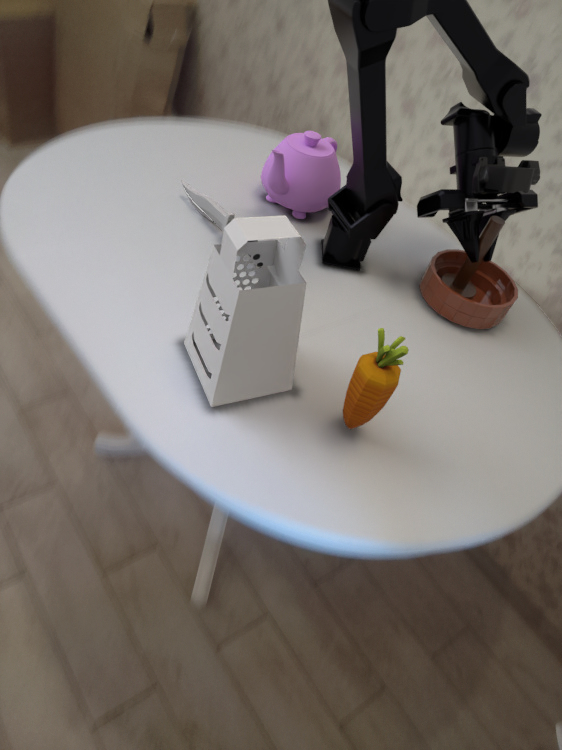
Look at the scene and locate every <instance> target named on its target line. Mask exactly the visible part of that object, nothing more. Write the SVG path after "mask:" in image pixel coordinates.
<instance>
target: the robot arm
mask: <svg viewBox="0 0 562 750" xmlns="http://www.w3.org/2000/svg"><path fill="white" fill-rule="evenodd" d="M327 4H328V9H329V13H330V16H331V20H332V25H333V29H334V32H335V34H336V37H337V40H338V42H339V45H340V47H341V50H342V52H343V55H344V57H345V62H346V75H347V89H348V103H349V117H350V132H351V133H350V134H351V145H352V159H353V160H352V161H353V162H352V164H351V167H350V169H349V170H348V172H347V174H346V182H345V184H344V185H343V186H341V187H340V189H339V190H338V191H337V192H336V193H334V194H333V195H332V196H330V197H329V198H328V207H327V210H328V211H329V212H330V213H331V214H332V215H331V216H330V219H329V223H328V226H327V229H326V232H325V236H324V238H323V239H321V240H320V256H321V258H320V259H321V264H323V265H326V266H330V267H337V268H341V269H345V270H346V269H347V270H352V271H357V272H358V271H359V272H360V271H361V269H362V264H361V263H363V262H364V261H365V258H366V256H367V253H368V251H369V249H370V246H371V244H372V241H373V240H377V238H378V237H379V236H380V234H381V233H382V231H384V229H385V228H386V227H387V225H388V224H389V222H390V221H391V220H392V218H393V217H394V215H396V214H397V212H398V210H399V204H400V203H399V202H403V201H404V200H403V198H402V185H403V177H402V175H401V174H400V173H399V172H398V171H397V170H396V169H395V167H393V166H392V164H391V163H390V162H389V161H388V154H387V152H388V149H387V148H388V144H387V66H386V63H387V57H388V55H389V53H390V51H391V49H392V46H393V44H394V42H395V40H396V38H397V34H398V29H402V28H407V27H410V26H413V25H414V24H416V23H417V22H419V21H421V20H422V19H423V18H425V17H426V18H427V20H428V21H429V23H430V24H431V25H432V27H433V28H434V29H435V31H436V32H437V33H438V35H439V36H440V37H441V39H442V40H443V42H444V43H445V45H446V46H447V47H448V49H449V50H450V52H451V53H452V54H453V56H454V57H455V59H456V60H457V61H458V63H459V65H460V68H461V72H462V74H461V78H462V80H463V83H464V86H465V88H466V90H467V93H468V94H469V96H470V97H472V98H473V99H474V100H475V101H477V102H478V103H479V104H480V105H482V106H483V107H485V108H486V109H487V110H486V109H480V108H479V109H478V108H470V107H468V106H466V105H465V104H464V103H463V102H462V101H459V102H458V103H456V104H454V105H453V106H451V107H450V108H449V110H448V112H447V113H446V115H444V117H443V118H442V119H441V120H440V125H441V126H448V127H449V126H450V127H451V126H452V129H453V132H452V133H453V147H454V148H453V149H454V164H455V165H452V166H450V167H449V175H455V179H456V180H455V181H456V189H455V188H449V189H448V188H447V189H445V188H444V189H443V188H442V189H438V190H436V191H432V192H431V193H428V194H426V195H423V196H421V197H420V198H419V200H418V202H417V205H416V212H417V213H416V215H417V218H418V219H421V218H434V217H436V215H437V213H438V212H440V211H448V214H447V215H448V216H447V217H445V218H442V220H441V222H442V223H443V224H447V226H448V227H449V229H450V230H451V231H452V233H453V234H454V236H455V237H456V238H457V240H458V242H459V244H460V245H461V247H462V250H464V251H465V252H466V254H467V256H468V257H469V259H470V261H471V262H472V263H475V262H478V261H479V236H480V234H481V233H482V231H483V229H484V228H485V226H486V224H487V222H488V221H489V219H490V217H491V216H498V217H500V218H502V219H503V220H504V221H505V222H506V221H507V220H508V219H509V218H510V217H511V216H514V215H516V214H519V213H523V212H527V211H530V210H534V209H538V208H539V198H538V193H537V192H535V191H534V190H533V189H531V186H535V185H537V184H539V181H540V180H541V167H540V161H539V160H532V159H531V160H530V159H522V160H521V161H520V162H519V164H518V166H510V165H506V159H505V158H507V157H510V158H525V157H528V156H529V155H531V154H532V153H533V152H534V151H535V149H536V148H537V147H538V145H539V142H540V141H539V139H540V134H541V128H540V124H539V121H540V119H541V118H542V112H539V111H538V110H537V109H536V108H533V107H527V90H528V88H530V84H531V80H530V77H529V74H528V73H527V72H525V71H524V70H523V69H522V68H521V66H519V65H518V64H517V63H516V62H515V61H513V60H511V58H509V57H508V56H506V55H505V54H504V53H503V52H501V50H500V49H498V48H497V46H496V45H495V43H494V42H493V40H492V39H491V37H490V35H489V33H488V32H487V31H486V29H485V27H484V26H483V24H482V22H481V20H480V19H479V17H478V16H477V14H476V13H475V11H474V10H473V8H472V7H471V5H470V3H469V1H468V0H327ZM490 112H491V113H492V114H491V113H490ZM504 157H505V158H504ZM500 232H501V231H500ZM500 232H499V234H498V236H497V237H496V239H495V241H494V242H493V244H492V245H491V247H490V249H489V250H488V252H487V254H486V255H485V257H484V258H483V260H484V262H488V261H492V259H493V256H494V252H495V248H496V246H497V242H498V239H499V235H500Z"/></svg>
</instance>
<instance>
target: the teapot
mask: <svg viewBox="0 0 562 750" xmlns="http://www.w3.org/2000/svg"><path fill="white" fill-rule="evenodd" d="M337 151H338V141H336V139H334V138H333V137H331V136H327V137H324V138H322V135H321V134H320V133H318V132H317V131H313V130H305V131H304V132H294V133H290V134H288V135H287V136H285V137H284V138H283V139H282V140H281V141H280V142H279V143H278V145H276V146H275V147H274V148H273V149H271V152H270V153H269V155H268V156H267V157H266V160H265V162H264V164H263V167H262V169H261V174H260V179H261V184H262V186H263V188H264V190H265V192H266V193H267V195H266V196H265V198H266V201H268V202H270V203H274V204H276V203H277V204H279V205H280V206H282V207H284V208H286V209H288V210H292V212H291V215H292V217H294V218H295V219H299V220H305V219H306V218H307V213H315V212H320V211H322V210H325V209H328V198H329V197H330V196H332V195H333V194H334V193H336V192H337V191H338V190H339V189H341V187H342V175H341V167H340V164H339V160H338V156H337Z"/></svg>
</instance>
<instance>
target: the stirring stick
mask: <svg viewBox="0 0 562 750" xmlns="http://www.w3.org/2000/svg"><path fill="white" fill-rule="evenodd" d="M505 224H506V221H504V220H503V219H502V218H500V217H498V216H491V217H490V219H489V221H488V222H487V224H486V226H485V228H484V229H483V231H482V233H481V234H480V236H479V261H478V262H475V263H472V262H471V261H470V259H469V257H467V258H466V260H465V262H464V263H463V265H462V267H461V269H460V270H459V272H458V274H454V273H448V274H445V275H443V276H442V277H441V280H442V281H443V282H444V283H445V284H446V285H447V286H448V287H449V288H451V289H452V290H453V291H455V292H456V293H458V294H460V295H461V296H463V297H465V298H467V299H470V300H472V299H473V298H474V296H475V295H476V292H477V291H476V287H475V286H474V284H473V283H472V282H471V281H470V280H471V278H472V276H473V275H474V273H475V271H476V270H477V268H478V267H479V265H480V263H481V262H482V260H483V258H484V257H485V255H486V254H487V252H488V250H489V249H490V247H491V245H492V244H493V242H494V241H495V239H496V237H497V236H498V234H499V235H500V233H499V232H501V231H502V229H503V228H504V226H505ZM498 237H499V236H498Z"/></svg>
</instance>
